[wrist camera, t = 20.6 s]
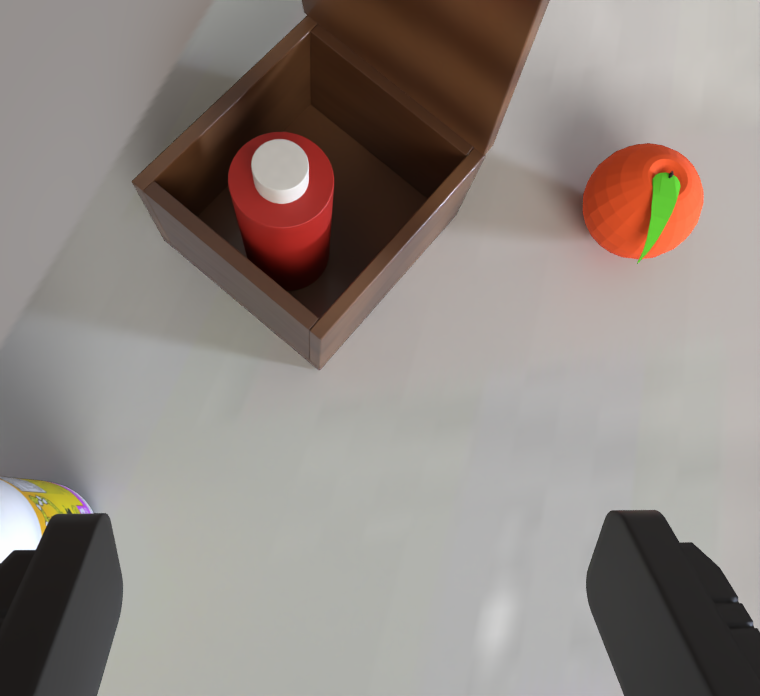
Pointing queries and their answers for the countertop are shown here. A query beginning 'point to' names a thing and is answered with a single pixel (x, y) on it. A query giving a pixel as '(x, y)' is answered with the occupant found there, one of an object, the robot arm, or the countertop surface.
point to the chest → (351, 185)
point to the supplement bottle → (32, 511)
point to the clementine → (642, 201)
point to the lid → (442, 52)
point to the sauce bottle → (284, 206)
